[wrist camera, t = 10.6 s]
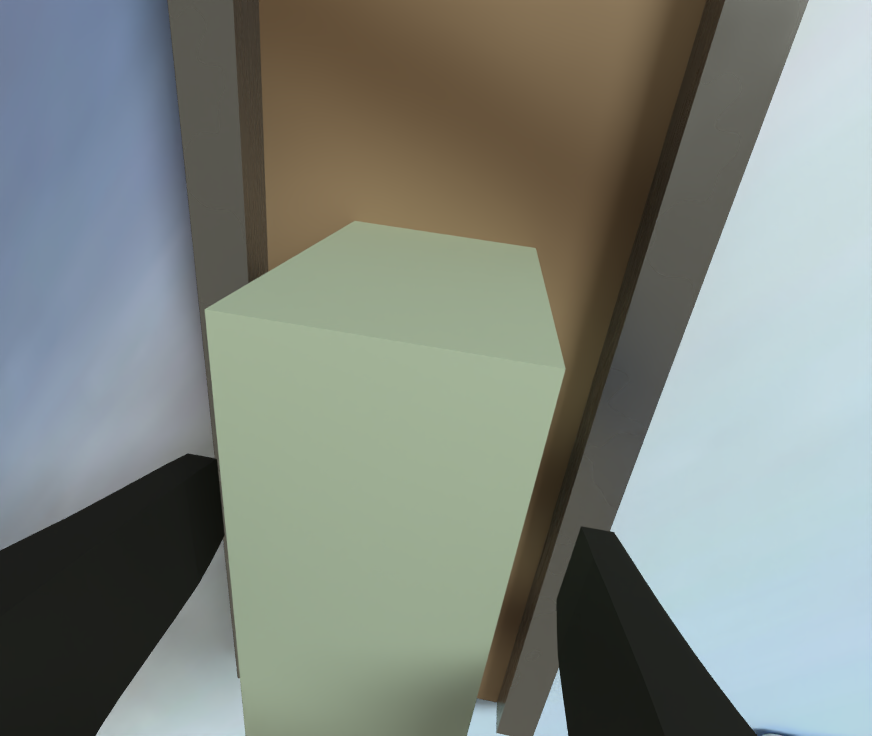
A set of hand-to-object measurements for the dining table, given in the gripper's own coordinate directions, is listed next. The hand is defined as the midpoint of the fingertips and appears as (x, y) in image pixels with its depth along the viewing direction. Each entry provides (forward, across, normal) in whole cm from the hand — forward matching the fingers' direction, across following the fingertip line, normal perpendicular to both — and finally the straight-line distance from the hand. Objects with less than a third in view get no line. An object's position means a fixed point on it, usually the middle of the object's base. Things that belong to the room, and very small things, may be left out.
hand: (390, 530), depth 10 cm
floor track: (+4, 0, 0) cm, 4 cm away
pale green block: (+4, 0, 0) cm, 4 cm away
